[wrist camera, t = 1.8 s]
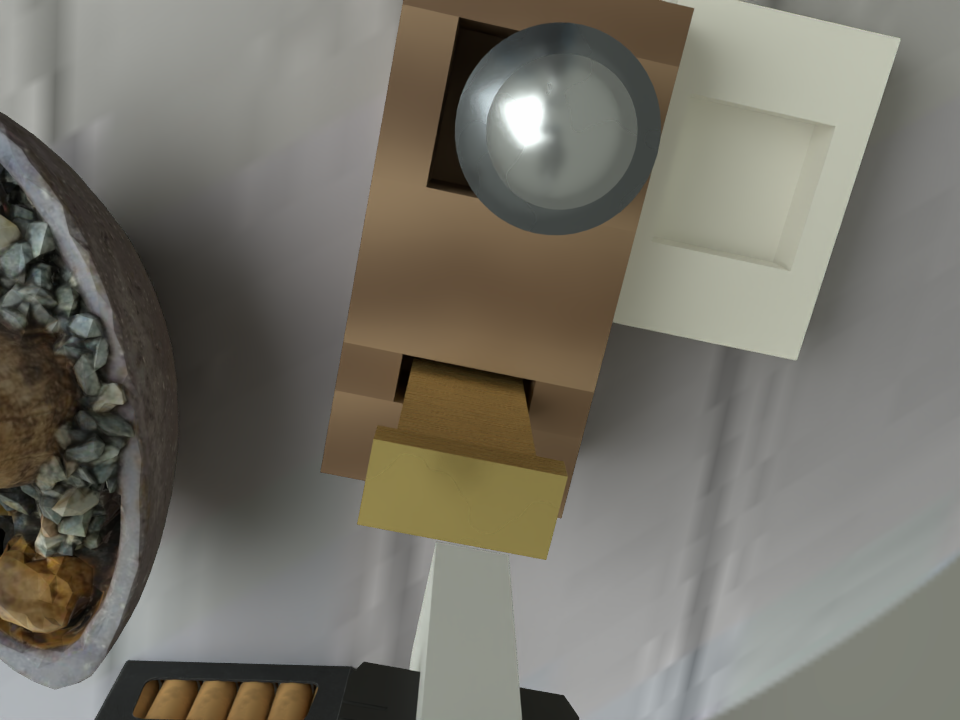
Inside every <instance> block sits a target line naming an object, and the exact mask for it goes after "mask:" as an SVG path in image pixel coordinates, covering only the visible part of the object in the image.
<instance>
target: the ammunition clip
mask: <svg viewBox="0 0 960 720" xmlns="http://www.w3.org/2000/svg"><path fill="white" fill-rule="evenodd" d="M354 671H355V669H353V668H352V667H348V666H312V665H275V664H239V663H203V662H166V661H130V660H128V661H127V662H126V663H125V665H124V667H123V668H122V670H121V672H120V674H119V676H118V678H117V679H116V681H115V683H114V685H113V687H112V689H111V690H110V692H109V694H108V696H107V698H106V700H105V701H104V703H103V705H102V707H101V709H100V711H99V712H98V714H97V716H96V718H95V720H339V716H340V711H341V707H342V702H343V698H344V693H345V689H346V684H347V679H348V678H349V676H350V675H351V674H352V673H353V672H354Z"/></svg>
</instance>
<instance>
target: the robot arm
mask: <svg viewBox="0 0 960 720" xmlns="http://www.w3.org/2000/svg"><path fill="white" fill-rule="evenodd" d="M339 720H579V717H578V715H577V714H576V712H575V711H574V709H573V708H572V706H571V705H570V704H569V702H568V701H567V699H566V698H565V696H564V695H559V694H553V693H548V692H542V691H536V690H531V689H525V688H520V687H519V676H518V664H517V652H516V640H515V628H514V616H513V603H512V591H511V579H510V567H509V555H505V554H500V553H495V552H489V551H484V550H479V549H474V548H468V547H463V546H458V545H452V544H447V543H442V542H436V545H435V549H434V554H433V559H432V563H431V568H430V572H429V577H428V581H427V586H426V590H425V595H424V600H423V604H422V609H421V613H420V618H419V622H418V627H417V632H416V636H415V641H414V645H413V650H412V654H411V662H410V670H407V669H401V668H396V667H390V666H385V665H379V664H373V663H368V662H363V663H362V664H361V665H360V666H359V667H358V668H357V669H356V670H355V671H354V672H353V673H352V674H351V675H350V676H349V678H348V679H347V684H346V689H345V693H344V698H343V702H342V707H341V711H340V716H339Z"/></svg>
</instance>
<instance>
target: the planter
mask: <svg viewBox="0 0 960 720" xmlns="http://www.w3.org/2000/svg"><path fill="white" fill-rule="evenodd" d="M177 448H178V399H177V377H176V371H175V365H174V358H173V351H172V345H171V341H170V338H169V334H168V330H167V326H166V322H165V319H164V316H163V313H162V310H161V308H160V305H159V302H158V299H157V296H156V293H155V291H154V288H153V285H152V283H151V281H150V279H149V277H148V275H147V273H146V271H145V269H144V267H143V265H142V262H141V260H140V258H139V256H138V254H137V253H136V251H135V249H134V247H133V245H132V243H131V242H130V240H129V239H128V237H127V236H126V234H125V233H124V231H123V230H122V229H121V227H120V226H119V225H118V223H117V222H116V221H115V219H114V218H113V217H112V215H111V214H110V213H109V211H108V210H107V208H106V207H105V206H104V205H103V203H102V202H101V201H100V200H99V199H98V197H97V196H96V195H95V194H94V193H93V192H92V191H91V190H90V188H89V187H88V186H87V185H86V184H85V182H84V181H83V180H82V179H81V178H80V177H79V175H78V174H77V173H76V172H75V171H74V170H73V169H72V168H71V167H70V166H69V165H68V164H67V163H66V162H65V161H64V160H62V159H61V158H60V157H59V156H58V155H57V154H56V153H55V152H53V151H52V150H51V149H50V148H49V147H48V146H47V145H45V144H44V143H43V142H42V141H41V140H40V139H38V138H37V137H36V136H35V135H33V134H32V133H30V132H29V131H28V130H26V129H25V128H23V127H22V126H21V125H19V124H18V123H16V122H15V121H13V120H12V119H11V118H9V117H8V116H6V115H5V114H3V113H1V112H0V659H1V660H2V661H3V662H4V663H6V664H7V665H8V666H9V667H10V668H12V669H13V670H14V671H16V672H18V673H19V674H21V675H23V676H25V677H27V678H28V679H30V680H32V681H34V682H36V683H39V684H41V685H44V686H47V687H49V688H52V689H59V688H62V687H66V686H69V685H73V684H76V683H79V682H81V681H83V680H85V679H87V678H89V677H90V676H92V674H93V673H94V672H95V670H96V669H97V668H98V667H99V665H100V664H101V663H102V661H103V660H104V659H105V657H106V656H107V654H108V653H109V651H110V650H111V648H112V647H113V645H114V644H115V642H116V641H117V639H118V637H119V636H120V634H121V632H122V631H123V629H124V627H125V626H126V624H127V622H128V620H129V619H130V617H131V615H132V613H133V611H134V609H135V607H136V606H137V604H138V602H139V600H140V597H141V595H142V592H143V590H144V587H145V585H146V582H147V580H148V577H149V575H150V572H151V569H152V566H153V563H154V560H155V557H156V554H157V551H158V548H159V545H160V541H161V537H162V534H163V530H164V526H165V522H166V517H167V512H168V508H169V504H170V500H171V495H172V488H173V481H174V474H175V467H176V459H177Z"/></svg>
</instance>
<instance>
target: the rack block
mask: <svg viewBox="0 0 960 720" xmlns="http://www.w3.org/2000/svg"><path fill="white" fill-rule="evenodd" d="M662 1H665V2H670V3H674V4H678V5H683V6H687V7H691V8H694V12H693V16H692V19H691V23H690V27H689V31H688V35H687V39H686V42H685V46H684V50H683V54H682V58H681V62H680V65H679V69H678V73H677V77H676V81H675V85H674V88H673V92H672V96H671V100H670V104H669V108H668V111H667V115H666V119H665V123H664V127H663V131H662V134H661V138H660V144H659V149H658V154H657V157H656V160H655V163H654V166H653V169H652V173H651V177H650V180H649V184H648V188H647V192H646V196H645V200H644V203H643V207H642V211H641V215H640V219H639V223H638V226H637V230H636V234H635V238H634V242H633V245H632V249H631V253H630V257H629V261H628V265H627V268H626V272H625V276H624V280H623V284H622V288H621V291H620V295H619V299H618V303H617V307H616V311H615V314H614V318H613V323H617V324H622V325H627V326H632V327H637V328H642V329H646V330H651V331H656V332H661V333H666V334H670V335H675V336H680V337H685V338H690V339H695V340H699V341H704V342H709V343H714V344H719V345H724V346H728V347H733V348H738V349H743V350H748V351H753V352H757V353H762V354H767V355H772V356H777V357H782V358H786V359H791V360H796V361H797V358H798V355H799V352H800V349H801V346H802V343H803V340H804V336H805V333H806V330H807V327H808V324H809V321H810V318H811V315H812V312H813V309H814V306H815V303H816V299H817V296H818V293H819V290H820V287H821V284H822V281H823V278H824V275H825V272H826V269H827V266H828V262H829V259H830V256H831V253H832V250H833V247H834V244H835V241H836V238H837V235H838V232H839V229H840V225H841V222H842V219H843V216H844V213H845V210H846V207H847V204H848V201H849V198H850V195H851V191H852V188H853V185H854V182H855V179H856V176H857V173H858V170H859V167H860V164H861V161H862V158H863V154H864V151H865V148H866V145H867V142H868V139H869V136H870V133H871V130H872V127H873V124H874V121H875V117H876V114H877V111H878V108H879V105H880V102H881V99H882V96H883V93H884V90H885V87H886V84H887V80H888V77H889V74H890V71H891V68H892V65H893V62H894V59H895V56H896V53H897V50H898V46H899V43H900V40H901V39H900V38H896V37H892V36H887V35H883V34H879V33H874V32H870V31H866V30H862V29H857V28H853V27H849V26H845V25H840V24H836V23H832V22H827V21H823V20H819V19H815V18H810V17H806V16H802V15H798V14H793V13H789V12H785V11H780V10H776V9H772V8H768V7H763V6H759V5H755V4H751V3H746V2H742V1H738V0H662Z"/></svg>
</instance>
